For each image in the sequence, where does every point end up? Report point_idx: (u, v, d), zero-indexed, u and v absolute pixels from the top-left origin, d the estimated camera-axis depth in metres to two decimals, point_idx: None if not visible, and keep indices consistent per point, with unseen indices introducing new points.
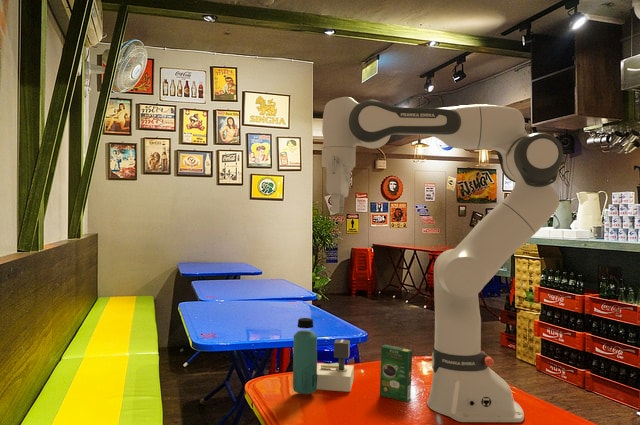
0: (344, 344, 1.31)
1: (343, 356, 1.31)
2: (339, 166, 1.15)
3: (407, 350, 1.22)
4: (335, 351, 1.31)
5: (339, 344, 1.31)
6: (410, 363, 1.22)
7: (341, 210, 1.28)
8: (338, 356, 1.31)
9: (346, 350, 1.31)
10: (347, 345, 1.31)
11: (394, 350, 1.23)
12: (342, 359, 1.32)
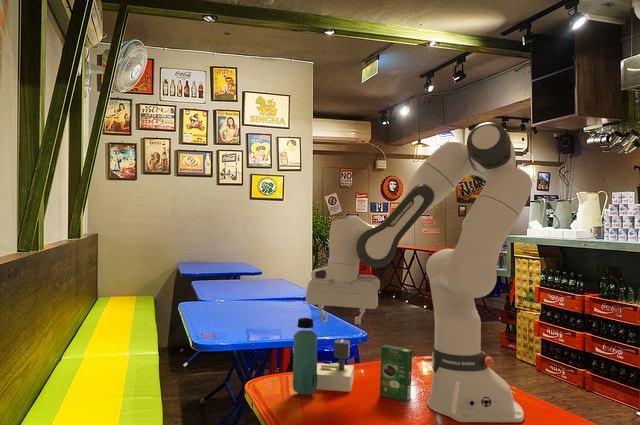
0: (344, 344, 1.31)
1: (343, 356, 1.31)
2: None
3: (407, 350, 1.22)
4: (335, 351, 1.31)
5: (339, 344, 1.31)
6: (410, 363, 1.22)
7: None
8: (338, 356, 1.31)
9: (346, 350, 1.31)
10: (347, 345, 1.31)
11: (394, 350, 1.23)
12: (342, 359, 1.32)
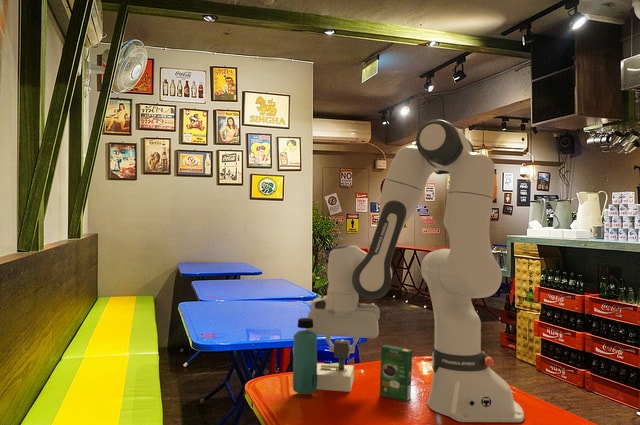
0: (344, 344, 1.31)
1: (343, 356, 1.31)
2: None
3: (407, 350, 1.22)
4: (335, 351, 1.31)
5: (339, 344, 1.31)
6: (410, 363, 1.22)
7: None
8: (338, 356, 1.31)
9: (346, 350, 1.31)
10: (347, 345, 1.31)
11: (394, 350, 1.23)
12: (342, 359, 1.32)
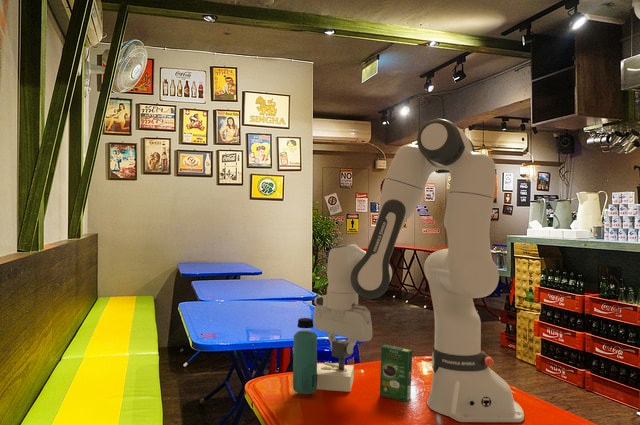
0: (340, 344, 1.31)
1: (339, 356, 1.31)
2: None
3: (407, 350, 1.22)
4: (333, 350, 1.32)
5: (336, 343, 1.32)
6: (410, 363, 1.22)
7: None
8: (335, 355, 1.32)
9: (342, 350, 1.31)
10: (343, 345, 1.30)
11: (394, 350, 1.23)
12: (341, 359, 1.32)
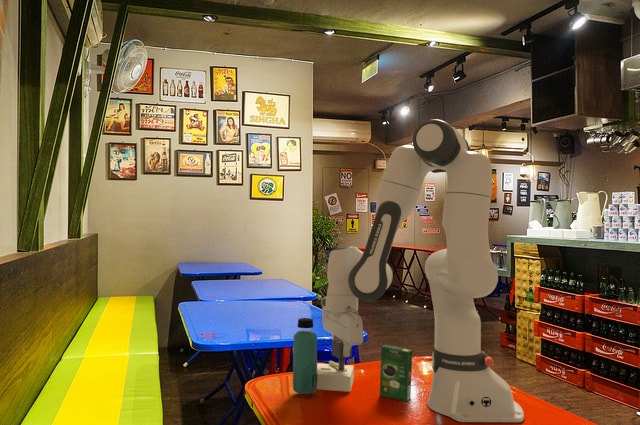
0: (338, 344, 1.31)
1: (337, 355, 1.31)
2: (360, 319, 1.25)
3: (407, 350, 1.22)
4: (332, 349, 1.33)
5: (335, 343, 1.32)
6: (410, 363, 1.22)
7: None
8: (334, 354, 1.33)
9: (339, 350, 1.31)
10: (339, 345, 1.31)
11: (394, 350, 1.23)
12: (340, 359, 1.32)
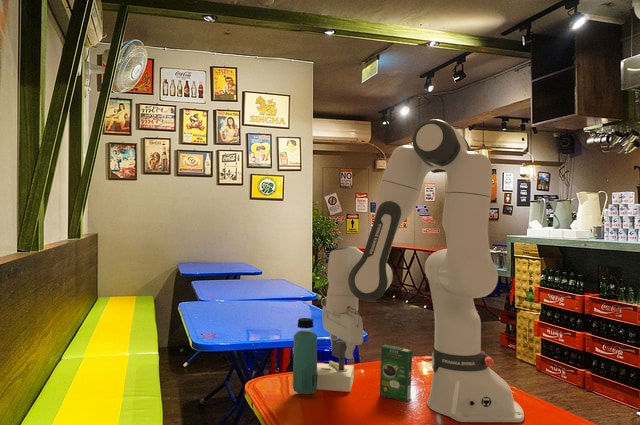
0: (338, 344, 1.31)
1: (337, 355, 1.31)
2: (360, 319, 1.25)
3: (407, 350, 1.22)
4: (332, 349, 1.33)
5: (335, 343, 1.32)
6: (410, 363, 1.22)
7: None
8: (334, 354, 1.33)
9: (339, 350, 1.31)
10: (339, 345, 1.31)
11: (394, 350, 1.23)
12: (340, 359, 1.32)
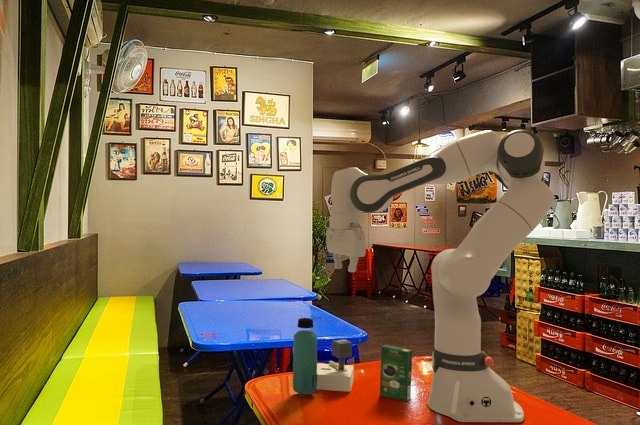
0: (338, 344, 1.31)
1: (337, 355, 1.31)
2: (363, 233, 1.31)
3: (407, 350, 1.22)
4: (332, 349, 1.33)
5: (335, 343, 1.32)
6: (410, 363, 1.22)
7: (341, 266, 1.43)
8: (334, 354, 1.33)
9: (339, 350, 1.31)
10: (339, 345, 1.31)
11: (394, 350, 1.23)
12: (340, 359, 1.32)
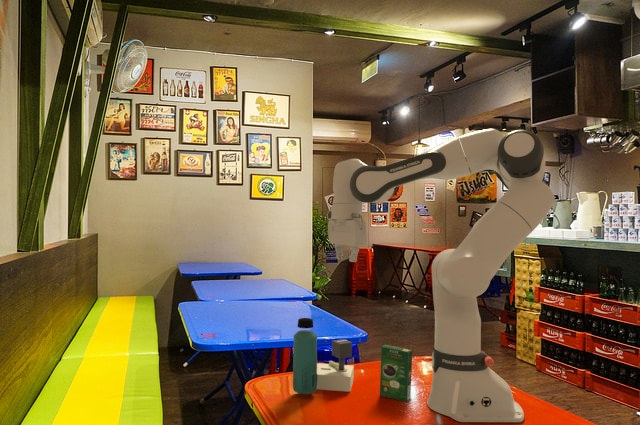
0: (338, 344, 1.31)
1: (337, 355, 1.31)
2: (364, 223, 1.33)
3: (407, 350, 1.22)
4: (332, 349, 1.33)
5: (335, 343, 1.32)
6: (410, 363, 1.22)
7: (342, 256, 1.45)
8: (334, 354, 1.33)
9: (339, 350, 1.31)
10: (339, 345, 1.31)
11: (394, 350, 1.23)
12: (340, 359, 1.32)
